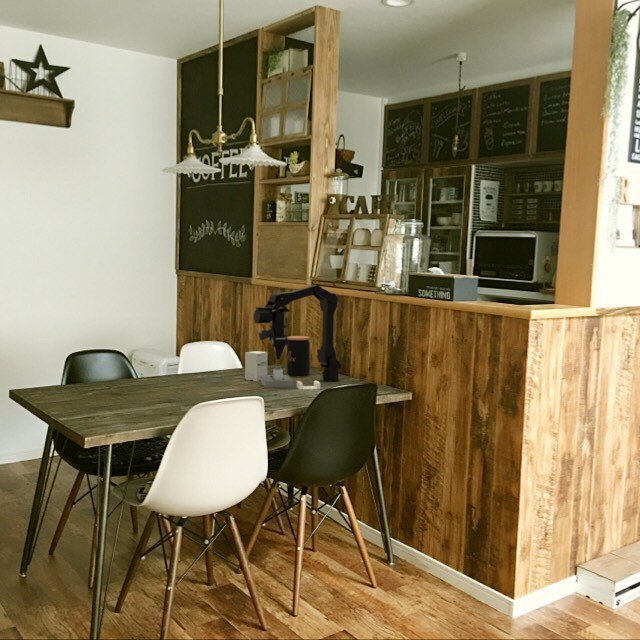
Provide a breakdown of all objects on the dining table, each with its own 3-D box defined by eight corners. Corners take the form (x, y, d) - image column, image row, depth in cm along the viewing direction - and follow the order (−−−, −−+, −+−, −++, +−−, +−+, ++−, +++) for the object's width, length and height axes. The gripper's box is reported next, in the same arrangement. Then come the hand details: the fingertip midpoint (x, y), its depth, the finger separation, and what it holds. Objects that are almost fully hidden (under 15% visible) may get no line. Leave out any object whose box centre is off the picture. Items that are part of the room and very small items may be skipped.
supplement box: (256, 381, 326) (256, 353, 325) (244, 379, 331) (244, 352, 330) (267, 379, 332) (267, 351, 331) (255, 377, 337) (255, 350, 336)
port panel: (287, 382, 324) (287, 374, 324) (293, 388, 308) (293, 379, 308) (260, 383, 322) (260, 374, 321) (265, 389, 306) (265, 380, 306)
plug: (281, 384, 314) (281, 365, 313) (282, 386, 310) (282, 366, 310) (273, 384, 313) (273, 365, 312) (274, 386, 310) (274, 367, 309)
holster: (317, 387, 312) (317, 380, 312) (320, 390, 305) (320, 383, 305) (296, 388, 310) (296, 381, 310) (299, 391, 303) (299, 383, 303)
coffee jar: (284, 373, 350) (284, 336, 348) (305, 372, 353) (306, 335, 351) (290, 377, 339) (290, 338, 338) (312, 376, 343) (312, 338, 341)
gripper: (256, 321, 317) (256, 356, 318) (261, 324, 299) (261, 362, 300) (282, 320, 319) (282, 356, 320) (288, 324, 301) (288, 362, 302)
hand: (277, 359), depth 311 cm, fingers closed
